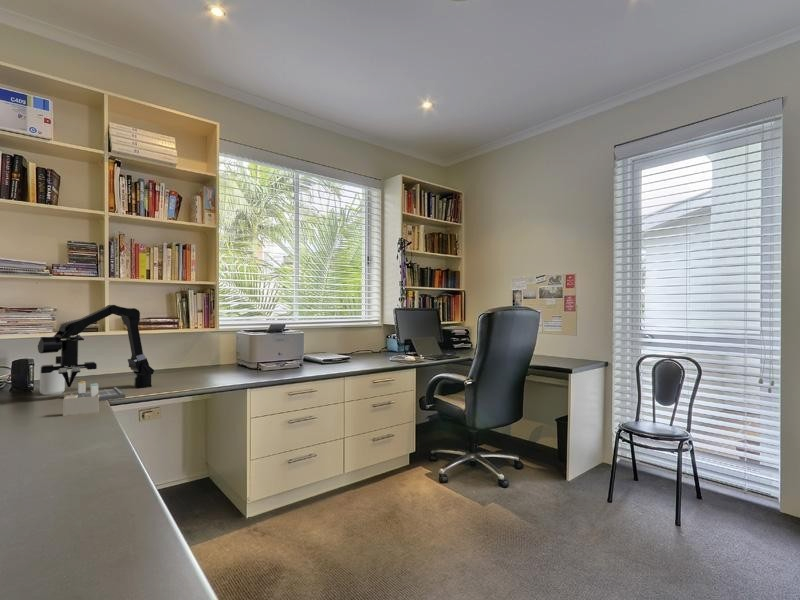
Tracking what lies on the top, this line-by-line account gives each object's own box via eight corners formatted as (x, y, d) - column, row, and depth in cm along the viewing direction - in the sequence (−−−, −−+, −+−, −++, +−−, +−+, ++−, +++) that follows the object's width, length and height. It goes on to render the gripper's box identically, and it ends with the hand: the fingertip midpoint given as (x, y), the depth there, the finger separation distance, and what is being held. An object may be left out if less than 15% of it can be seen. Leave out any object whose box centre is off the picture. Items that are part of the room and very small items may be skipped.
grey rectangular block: (84, 391, 184) (84, 380, 184) (85, 392, 182) (85, 382, 182) (77, 392, 183) (77, 381, 183) (78, 393, 180) (78, 382, 180)
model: (65, 415, 154) (65, 394, 154) (99, 412, 159) (100, 392, 159) (62, 417, 151) (63, 396, 151) (98, 414, 156) (98, 393, 156)
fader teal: (97, 394, 179) (97, 383, 179) (98, 395, 177) (98, 384, 177) (90, 395, 178) (90, 383, 178) (91, 396, 175) (91, 385, 175)
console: (117, 391, 195) (117, 386, 195) (125, 397, 181) (125, 392, 181) (66, 397, 182) (66, 392, 182) (70, 404, 168) (70, 399, 168)
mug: (61, 394, 186) (61, 370, 187) (36, 396, 183) (36, 371, 183) (69, 389, 197) (69, 366, 198) (46, 391, 194) (46, 367, 194)
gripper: (93, 348, 192) (93, 381, 191) (40, 351, 179) (39, 387, 179) (97, 350, 183) (96, 385, 183) (41, 353, 171) (40, 391, 170)
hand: (69, 387), depth 179 cm, fingers closed
